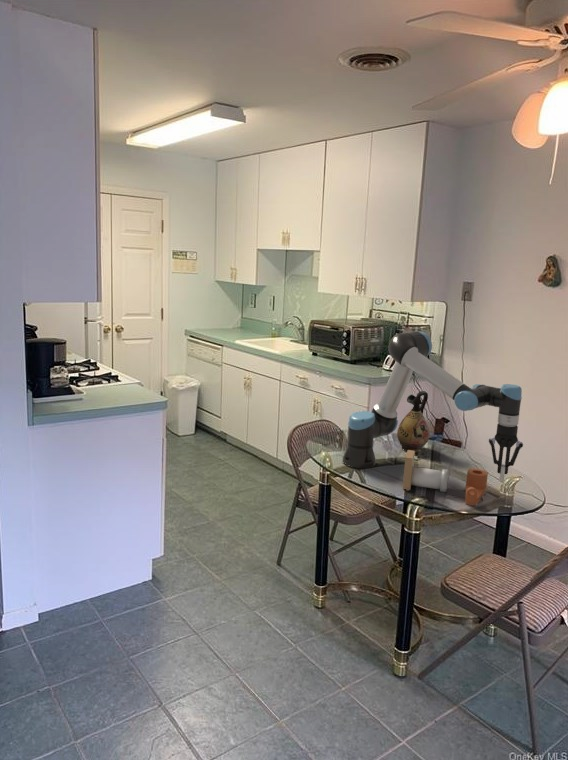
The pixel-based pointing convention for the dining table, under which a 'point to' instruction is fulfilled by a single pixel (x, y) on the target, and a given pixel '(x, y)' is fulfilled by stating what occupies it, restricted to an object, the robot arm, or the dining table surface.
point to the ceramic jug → (414, 425)
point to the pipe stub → (423, 475)
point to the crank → (475, 485)
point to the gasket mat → (457, 492)
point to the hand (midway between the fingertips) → (501, 481)
